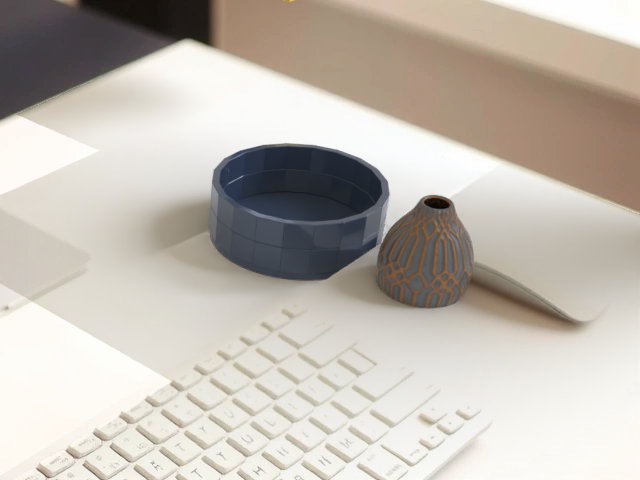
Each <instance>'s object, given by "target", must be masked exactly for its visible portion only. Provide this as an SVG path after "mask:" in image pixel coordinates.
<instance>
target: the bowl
mask: <svg viewBox="0 0 640 480" xmlns="http://www.w3.org/2000/svg"><path fill="white" fill-rule="evenodd" d="M210 188H211V189H210V205H209V206H210V207H209V221H208V222H209V224H208V230H209V238H210V241H211V242H212V245H213V246H214V248H215V249H216V250H217V251H218V252H219V254H221V255H222V256H223V257H224V258H226V259H227V260H229V261H230V262H232V264H235V265H237V266H239V267H240V268H244V269H246V270H248V271H250V272H254V273H256V274H260V275H264V276H268V277H270V278H271V277H272V278H277V279H284V280H294V281H320V280H327V279H329V278H331V277H332V276H334V275H335V274H337V273H339V272H340V271H342V270H343V269H344V268H346V267H347V266H349V265H350V264H352V263H353V262H355V261H356V260H358V259H359V258H361V257H363V256H365V254H367V253H369V252H370V251H371V250H373V249H375V248H376V247H378V246H380V245H381V244H382V242H383V235H384V231H385V225H386V220H387V219H386V218H387V213H388V207H389V201H390V196H391V194H390V185H389V181H388V179H387V178H386V177H385V175H383V173H382V172H381V171H380V170H379V168H377V167H376V166H375V165H372V164H371V163H369V162H367V161H366V160H365V159H363V158H361V157H358V156H356V155H354V154H351V153H348V152H345V151H343V150H339V149H335V148H331V147H328V146H327V147H326V146H321V145H316V144H307V143H291V142H288V143H287V142H283V143H269V144H260V145H256V146H253V147H249V148H244V149H240V150H238V151H236V152H233V153H231V154H230V155H227V156H226V157H224V158H223V159H222V160H221V161H220V162H219V163H218V165H216V166H215V167H214V169H213V172H212V179H211V187H210Z"/></svg>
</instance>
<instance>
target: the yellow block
mask: <svg viewBox="0 0 640 480" xmlns="http://www.w3.org/2000/svg"><path fill="white" fill-rule="evenodd" d="M281 1H283V2H286V3H292V2H294V1H295V0H281Z"/></svg>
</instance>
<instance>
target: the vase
mask: <svg viewBox="0 0 640 480" xmlns="http://www.w3.org/2000/svg"><path fill="white" fill-rule="evenodd" d="M379 246H380V247H379V249H378V254H377V259H376V267H375V268H376V270H375V273H376V280H377V281H376V282H377V284H378V287H379V288H380V290H381V291H382V292H383V293H384V294H385V295H386V296H387V297H389V298H390V299H393V300H394V301H397V302H398V303H401V304H404V305H407V306H412V307H416V308H423V309H438V308H445V307H449V306H451V305H454V304H456V303H457V302H459V301H461V299H462V298H463V297H464V295H465V293H466V291H467V290H468V289H469V285H470V282H471V279H472V278H473V277H472V276H473V272H474V267H475V253H474V252H475V251H474V247H473V242H472V238H471V236H470V234H469V232H468V230H467V229H466V227H465V225H464V224H463V222H462V220H461V219H460V217H459V215H458V214H457V210H456V207H455V203H454V202H453V200H452V199H451V198H448V197H447V196H443V195H438V194H428V195H424V196H423V197H421V198H419V201H417V203H416V204H415V206H414V207H413V208H412V209H410V210H409V211H408V212H407V213H406V214H404V215H403V216H402V217H401V218H399V219H398V220H397V221H395V222H394V223H393V225H392V226H391V227H390V228H389V230H388V231H387V232H386V234H385V236H384V238H383V239H382V242H381V244H380V245H379Z"/></svg>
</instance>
